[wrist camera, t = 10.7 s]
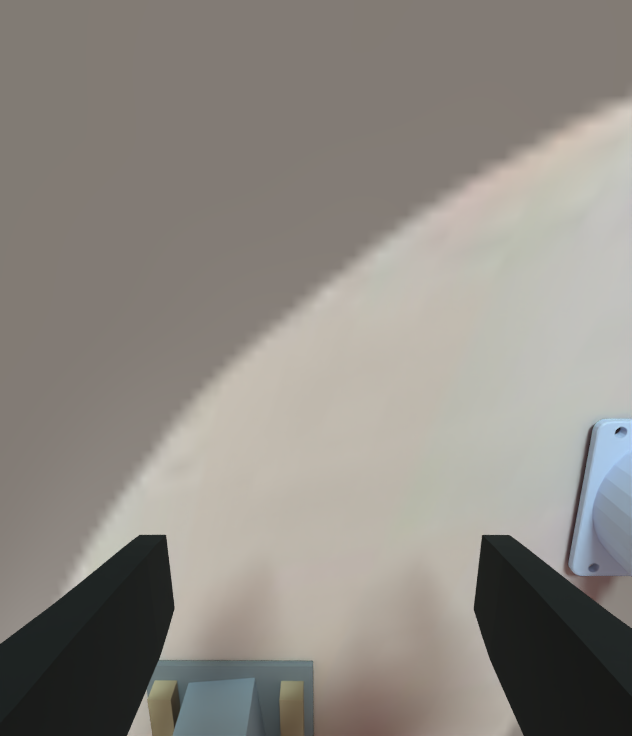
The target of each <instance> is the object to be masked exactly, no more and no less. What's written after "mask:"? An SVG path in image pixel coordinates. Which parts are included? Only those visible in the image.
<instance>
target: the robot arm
mask: <svg viewBox="0 0 632 736" xmlns="http://www.w3.org/2000/svg"><path fill="white" fill-rule="evenodd" d="M619 427H621V430H620V432H618V433H617V434H615V431H616V430H617V429H618V428H619ZM591 564H593V565H591ZM589 565H591V566H589ZM569 567H570V569H571V570H572V571H573V573H574V574H576V575H579V576H632V419H602V420H600V421H598V422H597V423H596V424H595V425H594V428H593V431H592V436H591V442H590V447H589V453H588V458H587V464H586V469H585V475H584V480H583V486H582V491H581V497H580V502H579V508H578V513H577V519H576V524H575V530H574V535H573V541H572V546H571V552H570V557H569ZM474 611H475V615H476V618H477V621H478V624H479V628H480V631H481V634H482V637H483V640H484V643H485V646H486V649H487V652H488V655H489V658H490V660H491V663H492V665H493V667H494V670H495V672H496V674H497V677H498V679H499V681H500V683H501V686H502V688H503V690H504V692H505V695H506V697H507V699H508V702H509V704H510V706H511V708H512V710H513V713H514V715H515V717H516V719H517V722H518V724H519V726H520V728H521V730H522V733H523V735H524V736H632V628H630V627H629V626H627V625H626V624H625V623H623V622H622V621H621V620H619V619H618V618H616V617H615V616H613V615H612V614H611V613H610V612H608V611H607V610H606V609H604V608H603V607H602V606H600V605H599V604H598V603H596V602H595V601H594V600H592V599H591V598H590V597H589V596H587V595H586V594H585V593H583V592H582V591H581V590H579V589H578V588H577V587H576V586H574V585H573V584H572V583H570V582H569V581H568V580H567V579H565V578H564V577H563V576H562V575H560V574H559V573H558V572H556V571H555V570H554V569H553V568H551V567H550V566H549V565H548V564H546V563H545V562H544V561H543V560H541V559H540V558H539V557H537V556H536V555H535V554H534V553H532V552H531V551H530V550H529V549H527V548H526V547H525V546H523V545H522V544H521V543H519V542H518V541H517V540H515V539H514V538H513V537H511V536H510V535H482V542H481V550H480V559H479V568H478V576H477V585H476V594H475V602H474ZM173 612H174V599H173V591H172V582H171V573H170V565H169V556H168V548H167V539H166V535H139V536H138V537H136V538H135V539H134V540H132V541H131V542H130V543H128V544H127V545H126V546H125V547H123V548H122V549H121V550H120V551H119V552H117V553H116V554H115V555H114V556H112V557H111V558H110V559H109V560H108V561H106V562H105V563H104V564H103V565H101V566H100V567H99V568H98V569H97V570H95V571H94V572H93V573H92V574H90V575H89V576H88V577H87V578H86V579H84V580H83V581H82V582H81V583H79V584H78V585H77V586H76V587H74V588H73V589H72V590H71V591H69V592H68V593H67V594H66V595H64V596H63V597H62V598H61V599H59V600H58V601H57V602H56V603H54V604H53V605H52V606H50V607H49V608H48V609H46V610H45V611H44V612H42V613H41V614H40V615H38V616H37V617H36V618H34V619H33V620H32V621H30V622H29V623H28V624H26V625H25V626H24V627H23V628H21V629H20V630H18V631H17V632H16V633H14V634H13V635H12V636H11V637H9V638H8V639H6V640H5V641H4V642H2V643H1V644H0V736H127V734H128V732H129V729H130V727H131V725H132V722H133V720H134V718H135V715H136V713H137V711H138V708H139V706H140V704H141V701H142V699H143V697H144V694H145V692H146V689H147V687H148V685H149V682H150V680H151V677H152V675H153V673H154V670H155V668H156V665H157V663H158V660H159V658H160V655H161V652H162V649H163V646H164V642H165V639H166V636H167V633H168V629H169V626H170V622H171V619H172V615H173Z"/></svg>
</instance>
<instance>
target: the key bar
mask: <svg viewBox="0 0 632 736" xmlns="http://www.w3.org/2000/svg"><path fill="white" fill-rule="evenodd" d="M172 736H266V734H265V729H264V723H263V718H262V713H261V708H260V702H259V697H258V692H257V687H256V681H255V678H245V679H232V680H219V681H206V682H193V683H188V687H187V690H186V693H185V696H184V700H183V703H182V706H181V709H180V713H179V716H178V719H177V722H176V726H175V729H174V732H173V735H172Z"/></svg>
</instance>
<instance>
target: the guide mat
mask: <svg viewBox="0 0 632 736" xmlns="http://www.w3.org/2000/svg"><path fill="white" fill-rule="evenodd" d="M245 678H255V681H256V687H257V692H258V697H259V702H260V708H261V713H262V718H263V723H264V729H265V734H266V736H281V729H280V702H279V699H280V688H281V681H304V736H314V731H313V661H158V663H157V665H156V668H155V670H154V673H153V675H152V677H151V680H150V682H149V685H148V687H147V694H148V697H149V694H150V691H151V689H152V686H153V684H154V681H155V680H177V684H178V692H179V701H180V709H181V706H182V703H183V700H184V696H185V693H186V690H187V687H188V683H193V682H206V681H219V680H232V679H245Z"/></svg>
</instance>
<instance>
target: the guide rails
mask: <svg viewBox="0 0 632 736" xmlns="http://www.w3.org/2000/svg"><path fill="white" fill-rule="evenodd" d="M147 701H148V708H149V714H150V721H151V728H152V735H153V736H172V735H173V732H174V729H175V726H176V722H177V719H178V716H179V713H180V701H179V692H178V684H177V680H155V681H154V684H153V686H152V689H151V691H150V694H149V697H148V699H147ZM279 702H280V729H281V736H304V681H281V688H280V699H279Z"/></svg>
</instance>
